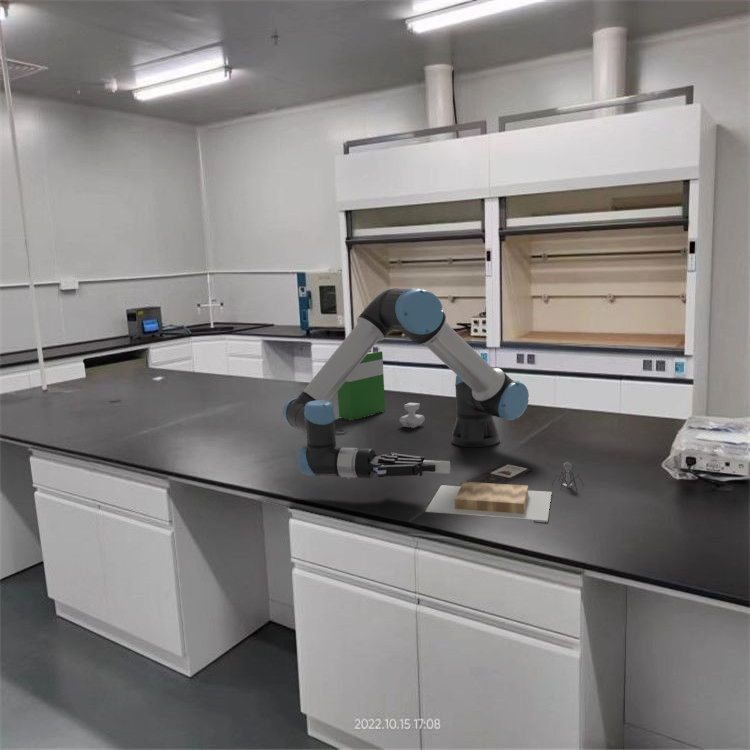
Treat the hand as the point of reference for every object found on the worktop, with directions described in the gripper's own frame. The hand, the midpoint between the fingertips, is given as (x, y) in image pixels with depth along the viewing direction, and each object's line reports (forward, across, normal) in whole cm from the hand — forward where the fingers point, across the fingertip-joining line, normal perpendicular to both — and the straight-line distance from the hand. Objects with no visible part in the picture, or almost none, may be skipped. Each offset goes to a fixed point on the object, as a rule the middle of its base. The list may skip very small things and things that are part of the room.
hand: (449, 467), depth 158 cm
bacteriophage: (+27, -16, -9) cm, 33 cm away
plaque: (+2, 0, -7) cm, 7 cm away
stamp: (-26, -68, -9) cm, 73 cm away
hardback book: (-50, -83, -9) cm, 98 cm away
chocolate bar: (+10, -19, -9) cm, 24 cm away
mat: (+10, 0, -9) cm, 13 cm away
